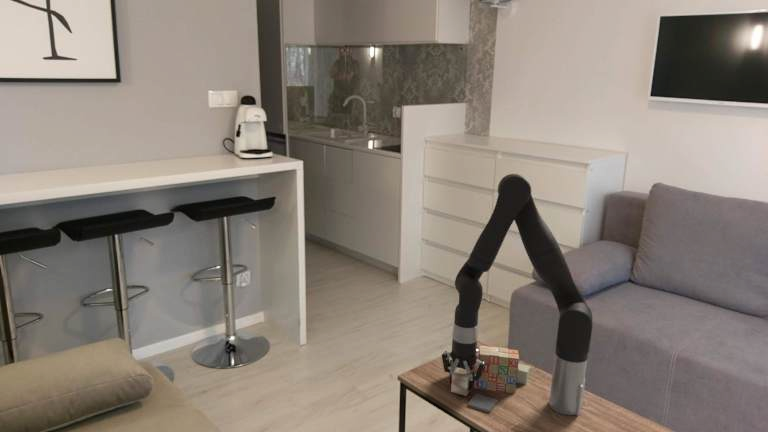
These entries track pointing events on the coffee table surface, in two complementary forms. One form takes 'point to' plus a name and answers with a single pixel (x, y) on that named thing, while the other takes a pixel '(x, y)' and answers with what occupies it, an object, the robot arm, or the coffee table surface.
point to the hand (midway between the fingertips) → (461, 387)
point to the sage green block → (523, 373)
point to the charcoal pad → (482, 403)
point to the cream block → (460, 382)
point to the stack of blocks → (496, 369)
